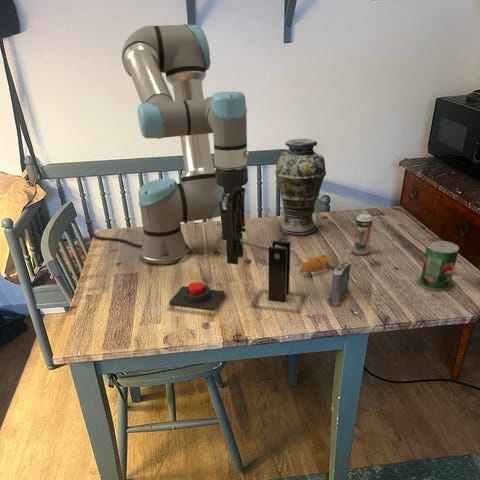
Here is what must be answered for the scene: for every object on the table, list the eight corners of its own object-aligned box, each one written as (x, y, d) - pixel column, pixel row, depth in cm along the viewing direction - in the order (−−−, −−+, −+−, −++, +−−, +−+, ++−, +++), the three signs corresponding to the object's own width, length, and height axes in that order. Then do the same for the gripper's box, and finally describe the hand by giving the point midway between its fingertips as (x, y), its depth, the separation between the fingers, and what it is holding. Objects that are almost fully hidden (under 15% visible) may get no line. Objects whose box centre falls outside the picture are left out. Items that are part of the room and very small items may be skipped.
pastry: (311, 278, 132) (312, 266, 130) (295, 271, 137) (295, 259, 135) (333, 269, 137) (334, 257, 135) (317, 262, 142) (317, 250, 140)
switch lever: (223, 246, 116) (225, 233, 114) (228, 241, 119) (230, 228, 117) (282, 262, 114) (285, 249, 112) (285, 256, 117) (288, 243, 115)
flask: (338, 306, 118) (341, 268, 113) (327, 304, 119) (329, 266, 114) (349, 291, 125) (352, 254, 119) (338, 289, 126) (341, 252, 121)
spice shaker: (351, 254, 146) (355, 217, 139) (354, 248, 149) (357, 212, 143) (366, 256, 144) (371, 219, 138) (369, 250, 148) (373, 214, 141)
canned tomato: (451, 291, 123) (460, 253, 117) (420, 288, 125) (427, 250, 119) (449, 278, 129) (457, 241, 124) (419, 276, 131) (426, 239, 126)
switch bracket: (252, 306, 120) (251, 249, 111) (261, 290, 127) (260, 236, 119) (298, 312, 116) (300, 254, 108) (304, 295, 124) (307, 239, 115)
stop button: (186, 294, 119) (186, 288, 118) (192, 287, 122) (191, 281, 121) (201, 296, 118) (200, 290, 117) (206, 288, 121) (206, 283, 120)
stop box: (169, 309, 120) (168, 295, 118) (183, 293, 127) (182, 280, 125) (213, 315, 117) (212, 301, 115) (224, 298, 124) (224, 284, 122)
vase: (310, 242, 155) (315, 148, 139) (265, 233, 163) (265, 143, 148) (330, 226, 167) (336, 138, 151) (287, 219, 175) (289, 134, 159)
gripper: (236, 176, 99) (239, 275, 111) (256, 158, 113) (257, 248, 125) (203, 175, 101) (210, 272, 113) (227, 157, 115) (231, 246, 127)
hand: (235, 259), depth 119 cm, fingers closed on switch lever, 4 cm apart
